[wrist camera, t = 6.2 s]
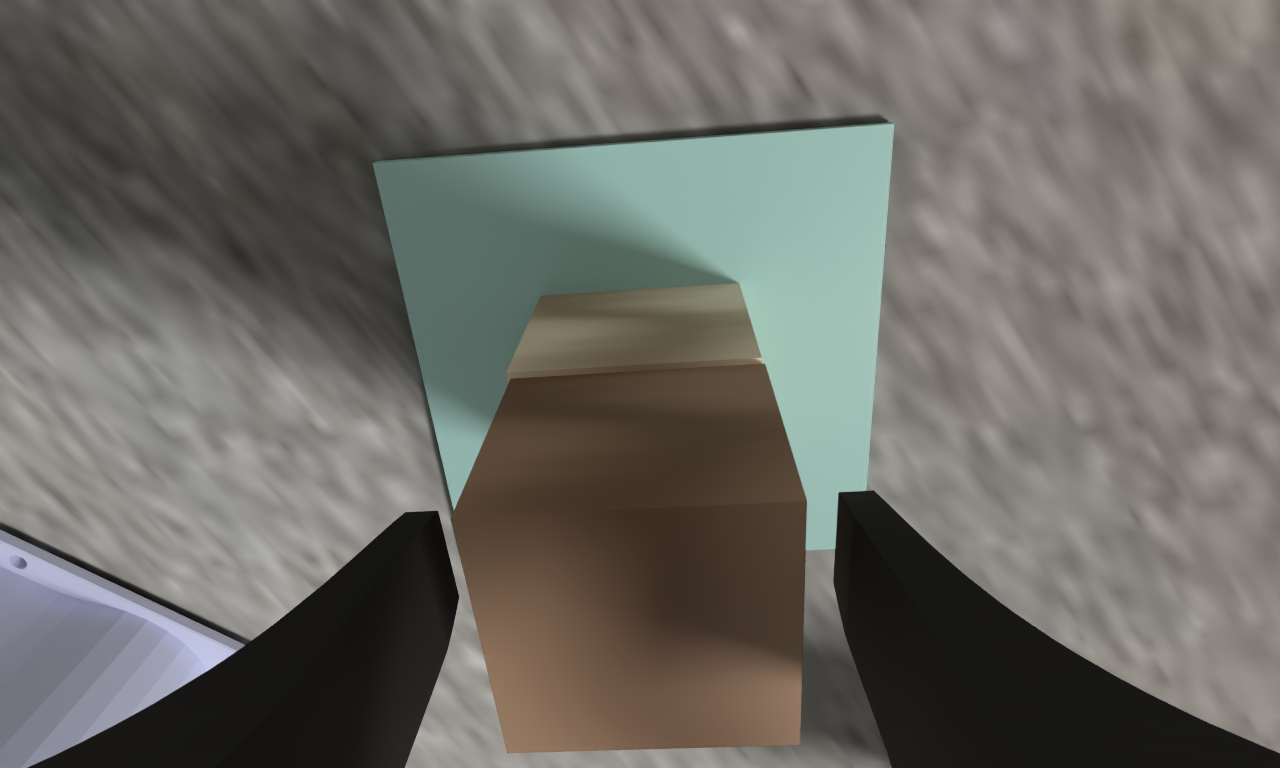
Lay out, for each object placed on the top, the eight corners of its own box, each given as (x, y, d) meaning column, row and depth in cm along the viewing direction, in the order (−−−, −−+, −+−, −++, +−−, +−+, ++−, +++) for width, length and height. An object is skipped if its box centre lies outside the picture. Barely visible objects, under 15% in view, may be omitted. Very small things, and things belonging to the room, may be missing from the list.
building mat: (468, 558, 22) (466, 564, 22) (377, 161, 17) (372, 163, 17) (859, 541, 22) (862, 547, 21) (890, 122, 16) (893, 123, 16)
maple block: (564, 462, 20) (541, 570, 16) (540, 295, 18) (505, 372, 14) (741, 454, 20) (762, 561, 16) (739, 282, 18) (761, 357, 14)
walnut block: (544, 574, 16) (507, 753, 12) (510, 378, 14) (450, 518, 10) (765, 565, 16) (799, 745, 12) (765, 363, 14) (807, 500, 10)
